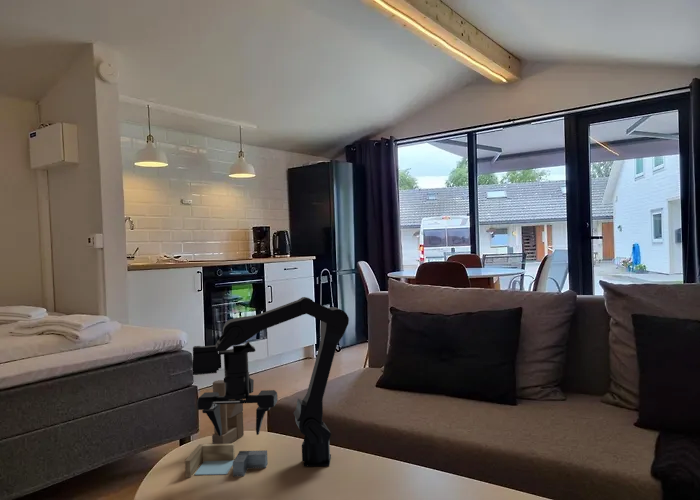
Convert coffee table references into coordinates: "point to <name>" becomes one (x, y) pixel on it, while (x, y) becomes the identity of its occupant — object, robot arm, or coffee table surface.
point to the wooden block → (228, 418)
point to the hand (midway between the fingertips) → (239, 434)
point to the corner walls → (208, 455)
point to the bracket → (249, 461)
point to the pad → (214, 467)
